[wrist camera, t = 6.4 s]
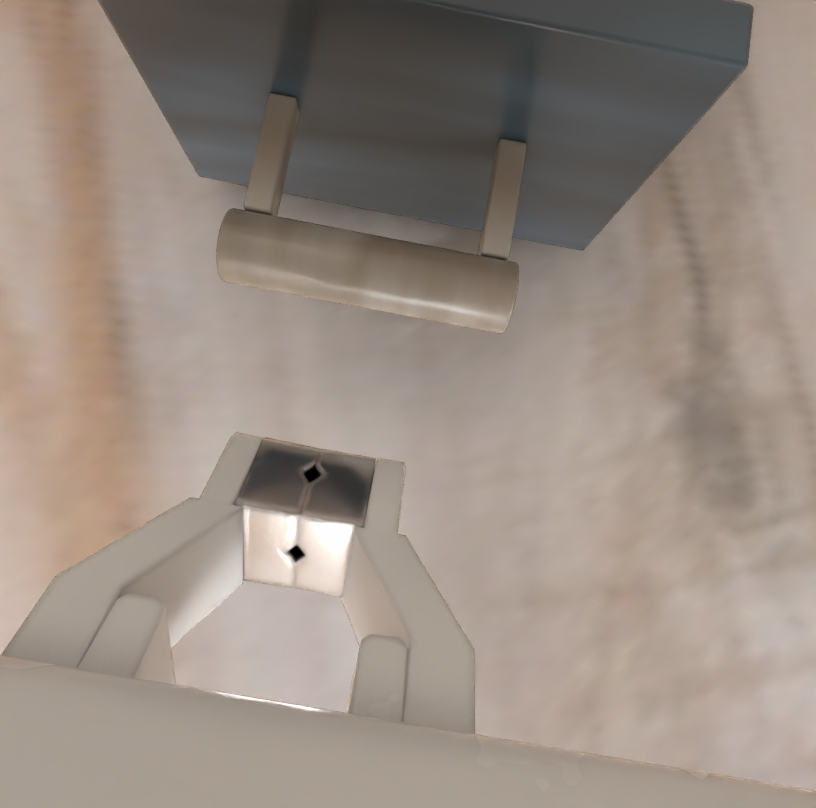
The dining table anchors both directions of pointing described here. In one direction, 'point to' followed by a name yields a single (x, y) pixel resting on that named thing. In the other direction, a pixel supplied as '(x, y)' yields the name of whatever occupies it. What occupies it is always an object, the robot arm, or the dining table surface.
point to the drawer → (427, 127)
